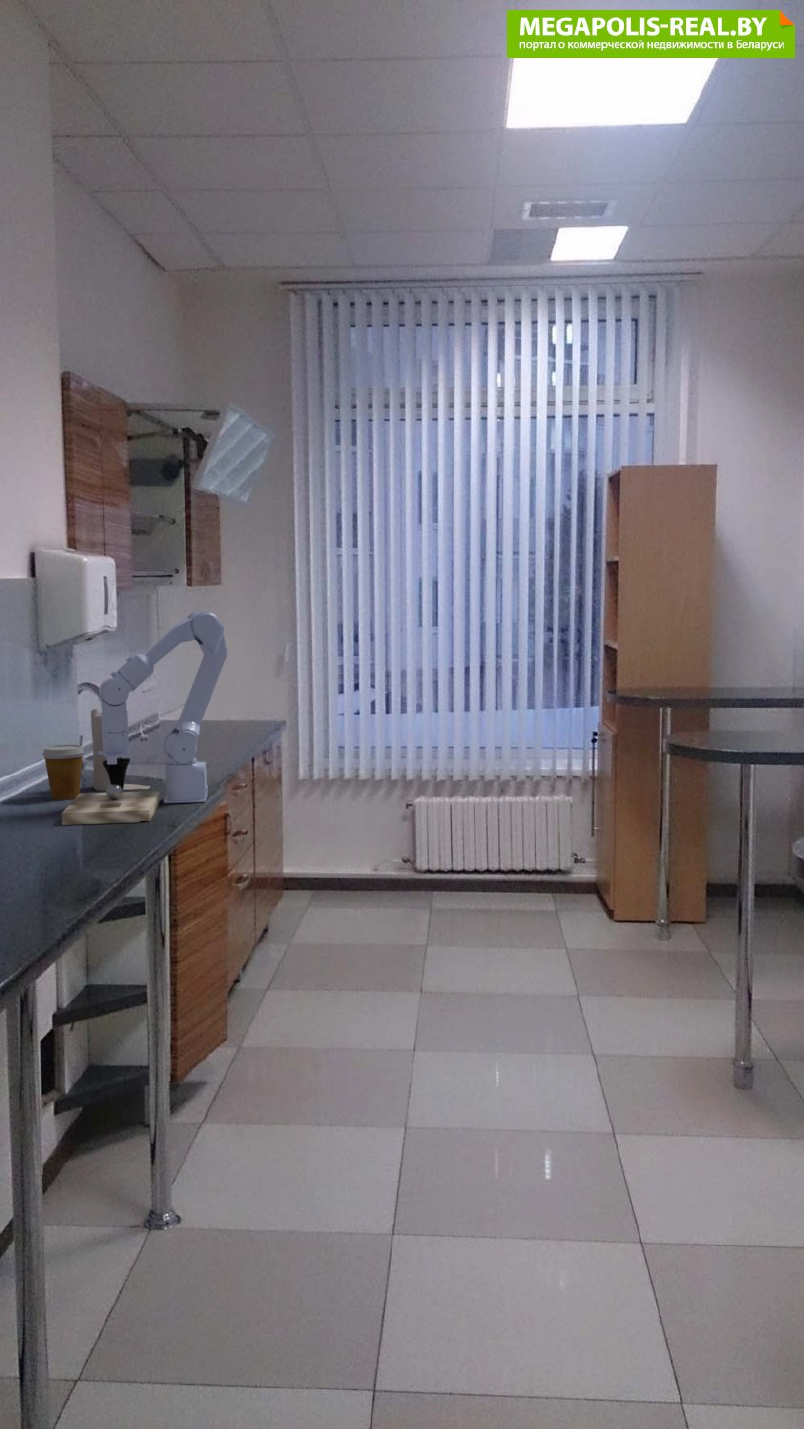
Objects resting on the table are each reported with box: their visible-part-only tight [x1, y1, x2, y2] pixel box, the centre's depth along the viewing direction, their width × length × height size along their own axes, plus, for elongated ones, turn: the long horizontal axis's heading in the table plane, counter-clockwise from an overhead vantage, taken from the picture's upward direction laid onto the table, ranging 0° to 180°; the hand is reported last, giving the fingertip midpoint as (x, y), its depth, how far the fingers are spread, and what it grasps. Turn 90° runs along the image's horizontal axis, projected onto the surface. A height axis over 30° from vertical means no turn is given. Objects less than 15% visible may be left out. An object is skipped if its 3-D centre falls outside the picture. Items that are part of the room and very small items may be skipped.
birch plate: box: [61, 790, 161, 826], centre depth 250 cm, size 18×22×2 cm
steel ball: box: [105, 784, 123, 800], centre depth 252 cm, size 4×4×4 cm
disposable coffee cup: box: [41, 744, 85, 801], centre depth 269 cm, size 10×10×12 cm
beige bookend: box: [90, 708, 151, 792], centre depth 279 cm, size 7×14×20 cm, turn 88°
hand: (117, 791), depth 258 cm, fingers closed
